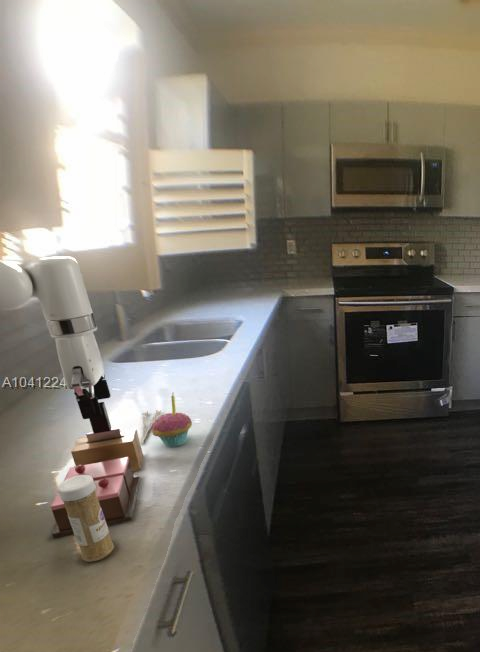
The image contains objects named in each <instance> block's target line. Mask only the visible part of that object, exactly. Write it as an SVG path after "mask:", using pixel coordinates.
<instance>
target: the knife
mask: <svg viewBox="0 0 480 652" xmlns="http://www.w3.org/2000/svg"><path fill="white" fill-rule="evenodd" d="M98 402H99V401H98ZM99 406H100V409H101V412H102V415H101V416H100V417H95V418H90V419H89V424H90V426H91V430H92V432H87V433H85V437H87V439H88V442H89V443H94V442H100V441H106V440H112V439H117V438H122V437H121V433H120V431H121V429H120V427H115V428H112V425H111V421H110V418H109V414H108V410H107V407H106V404H105V401H100V402H99Z"/></svg>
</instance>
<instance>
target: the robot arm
mask: <svg viewBox="0 0 480 652" xmlns="http://www.w3.org/2000/svg"><path fill="white" fill-rule="evenodd" d="M35 298H37V300H38V302H39V304H40V308H41V310H42V313H43V317H44V319H45V323H46V327H47V329H48V332H49V335H50V337H51V338H53V339H54V340H55V347H56V352H57V356H58V361H59V365H60V368H61V371H62V375H63V380H64V382H65V386H66V388H67V389H68V390H72V389H73V391H74V393H73V394H74V396H75V400H76V403H77V405H78V409H79V412H80V415H81V418H82V419H83V420H88V419H90V418H95V417H100V416H101V415H102V412H101V409H100V406H99V401H100V400H106V399H110V398H111V392H110V388H109V385H108V381H107V379H106V375H105V372H104V371H105V369H104V368H105V367H104V363H103V359H102V355H101V351H100V348H99V345H98V343H97V340H96V336H95V334H94V332H97V331H98V325H97V323H96V319H95V316H94V313H93V309H92V306H91V303H90V298H89V295H88V291H87V288H86V285H85V280H84V277H83V274H82V271H81V267H80V265H79V262H78V261H77V260H76V258H74V257H72V256H65V255H64V256H63V255H62V256H59V255H58V256H48V257H47V256H45V257H39V258H36V259H0V311H5V312H6V311H15V310H18V309H20V308H22V307H24V306H26V305H27V304H28V302H29V301H30V300H31V299H35Z"/></svg>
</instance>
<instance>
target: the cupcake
mask: <svg viewBox="0 0 480 652" xmlns="http://www.w3.org/2000/svg"><path fill="white" fill-rule="evenodd" d="M175 398H176V397H175V395H174V392H172V395H171V397H170V400H171V412H167V413H164V414H163V415H161V416H160V417H157V418H156V419H155V420H154V422H153V423H152V425H151V433H152V435H153V436H155V437H158V438H159V439H160V440H161V441H162V443H163V445H164V446H165V447H167V448H176V447H179V446H182V445H184V444H185V443H186V442H187V440H188V433H189V430H190V429H191V427H192V425H193V422H192V418H191V417H190V416H189V415H187V414H186V413H183V412H177V411H176V399H175Z"/></svg>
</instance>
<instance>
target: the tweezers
mask: <svg viewBox="0 0 480 652" xmlns="http://www.w3.org/2000/svg"><path fill="white" fill-rule="evenodd" d="M161 413H162V410H161V409H160V410H159V409H158V410H157V409H155V414H154V415H153V416H152V419H151V420H150V422H149V424H148V426H147V425H146V416H148V415H149V411H146V412H141V415H142V439H141V445H144V442H145V441H146V438H147V435H148V432H149V431H150V429H151V428H152V424H153V423H154V422H155V420H157V419H158V416H159V415H160V414H161ZM146 426H147V427H146Z"/></svg>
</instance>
